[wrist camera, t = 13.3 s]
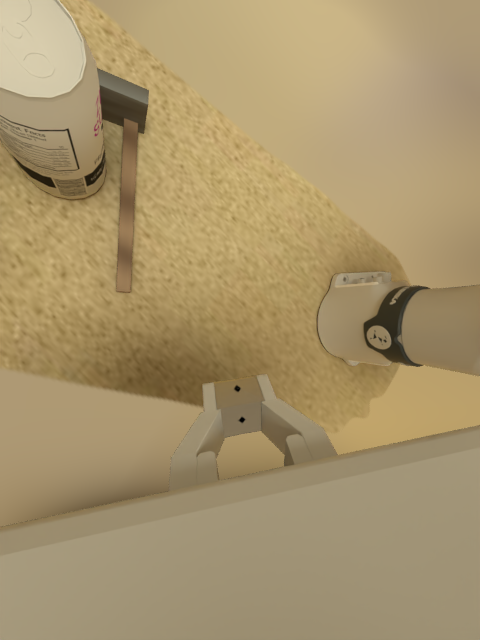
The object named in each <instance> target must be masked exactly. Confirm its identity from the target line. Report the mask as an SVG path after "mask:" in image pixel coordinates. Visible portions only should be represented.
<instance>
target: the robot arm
mask: <svg viewBox="0 0 480 640" xmlns="http://www.w3.org/2000/svg"><path fill="white" fill-rule="evenodd" d="M318 332H319V336H320V339H321V342H322V344H323V346H324V347H325V349H326V350H327V351H328V352H329V353H330V354H332V355H334V356H336V357H340V358H342V359H343V360H344V361H345V362H346V363H347V364H348V365H350V366H356V365H358V364H359V363H360V362H361V363H368V364H375V365H382V366H389V365H390V364H391V363H393V362H395V363H399V364H401V365H406V366H416V367H418V366H423V365H425V366H430V367H435V368H440V369H445V370H450V371H455V372H460V373H465V374H470V375H475V376H480V285H471V286H462V287H451V288H436V289H430V288H428V287H422V286H414V285H413V286H410V285H409V284H408V283H407V282H406V281H405V280H399V281H391V272H387V273H386V272H359V273H337V274H335V275H334V276H333V278H332V282H331V286H330V289H329V291H328V293H327V294H326V296H325V298H324V299H323V301H322V304H321V306H320V309H319V314H318ZM202 389H203V406H204V412H202V413H200V414H199V416H198V417H197V419H196V421H195V422H194V423H193V425H192V427H191V428H190V430H189V431H188V433H187V434H186V436H185V437H184V439H183V441H182V442H181V443H180V445H179V447H178V448H177V449H176V451H175V452H174V454H173V456H172V457H171V467H170V479H169V491H167V492H162V493H157V494H152V495H148V496H143V497H138V498H134V499H129V500H125V501H120V502H115V503H110V504H105V505H101V506H96V507H91V508H87V509H82V510H77V511H73V512H68V513H63V514H58V515H53V516H49V517H44V518H40V519H35V520H30V521H25V522H20V523H16V524H11V525H6V526H2V527H0V640H480V425H478V426H474V427H468V428H464V429H459V430H454V431H450V432H445V433H440V434H436V435H431V436H426V437H421V438H417V439H412V440H407V441H403V442H398V443H393V444H389V445H383V446H379V447H374V448H369V449H365V450H360V451H355V452H350V453H346V454H341V455H338V454H337V453H336V451H335V449H334V447H333V446H332V443H331V442H330V440H329V438H328V436H327V434H326V432H325V430H324V429H323V428H322V427H321V426H319V425H318V424H316V423H315V422H313V421H312V420H310V419H309V418H308V417H306V416H305V415H303V414H302V413H300V412H299V411H297V410H296V409H294V408H293V407H292V406H290V405H289V404H287V403H286V402H284V401H283V400H281V399H277V398H276V395H275V393H274V390H273V388H272V385H271V383H270V381H269V378H268V376H267V374H260V375H256V376H249V377H243V378H237V379H231V380H224V381H217V382H211V383H204V384H203V385H202ZM257 431H262V432H263V433H264V434H265V435H266V436H267V437H268V438H269V439H270V440H271V441H272V443H274V445H275V446H276V447H277V448H279V450H280V451H281V452H283V454H284V455H285V459H284V467H280V468H275V469H271V470H266V471H261V472H256V473H252V474H247V475H243V476H238V477H233V478H228V479H224V480H219V475H218V469H217V462H216V458H217V455H218V453H219V451H220V448H221V446H222V444H223V441H224V438H226V437H230V436H235V435H239V434H244V433H251V432H257Z"/></svg>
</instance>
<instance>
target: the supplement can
mask: <svg viewBox="0 0 480 640" xmlns="http://www.w3.org/2000/svg"><path fill="white" fill-rule="evenodd" d="M0 141H1V142H2V144H3V145H4V146H5V148H6V149H7V151H8V152H9V153H10V155H11V156H12V158H13V159H14V160H15V162H16V163H17V165H18V166H19V167H20V169H21V170H22V172H23V173H24V174H25V176H26V177H27V178H28V179H29V180H30V181H32V182H33V183H34V184H35V185H36V186H37V187H38V188H40V189H42V190H44V191H46V192H47V193H49V194H51V195H53V196H57V197H61V198H66V199H79V198H86V197H88V196H90V195H92V194H94V193H96V192H97V190H98V189H99V188H100V187H101V186H102V184H103V183H104V179H105V175H106V161H105V149H104V136H103V124H102V112H101V99H100V87H99V79H98V73H97V66H96V61H95V59H94V57H93V55H92V53H91V51H90V49H89V46H88V44H87V42H86V40H85V38H84V37H83V35H82V34H81V32H80V31H79V30H78V28H77V26H76V24H75V21H74V19H73V17H72V16H71V15H70V13H69V12H68V11H67V10H66V8H65V7H64V6H63V5H62V3H61V2H60V1H59V0H0Z"/></svg>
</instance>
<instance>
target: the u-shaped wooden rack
mask: <svg viewBox="0 0 480 640" xmlns="http://www.w3.org/2000/svg"><path fill="white" fill-rule="evenodd" d="M97 73H98V79H99V87H100V99H101V112H102V119H104V120H107V121H110V122H112V123H115V124H118V125H121V126H124V132H123V155H122V177H121V200H120V223H119V245H118V268H117V292H128V293H130V288H131V266H132V244H133V222H134V201H135V179H136V157H137V136H138V132H141V133H143V134H144V128H145V121H146V115H147V108H148V96H149V90H147V89H145V88H142V87H140V86H138V85H135V84H133V83H131V82H128V81H126V80H124V79H121V78H119V77H117V76H114V75H112V74H110V73H108V72H105V71H103V70H101V69H98V68H97Z"/></svg>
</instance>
